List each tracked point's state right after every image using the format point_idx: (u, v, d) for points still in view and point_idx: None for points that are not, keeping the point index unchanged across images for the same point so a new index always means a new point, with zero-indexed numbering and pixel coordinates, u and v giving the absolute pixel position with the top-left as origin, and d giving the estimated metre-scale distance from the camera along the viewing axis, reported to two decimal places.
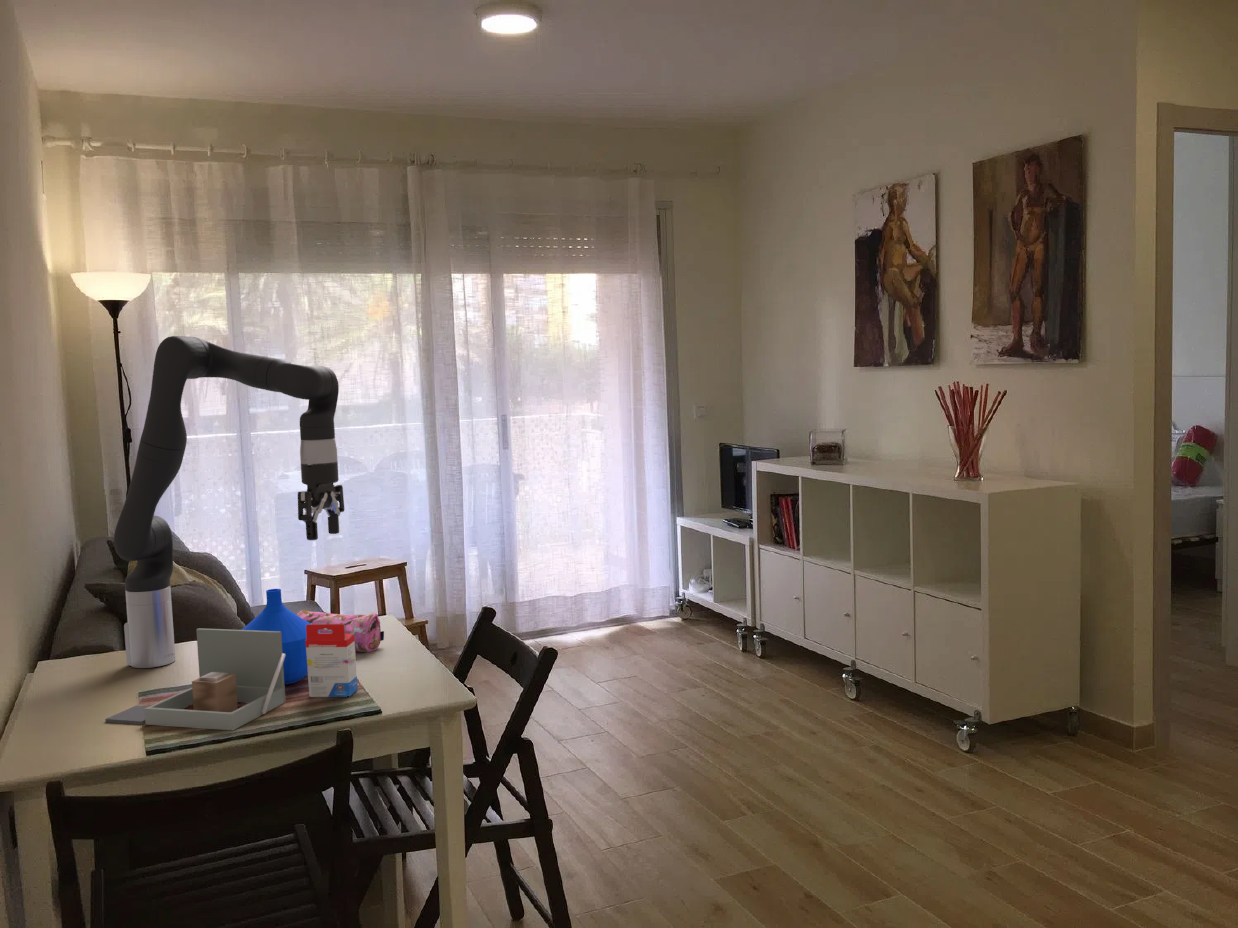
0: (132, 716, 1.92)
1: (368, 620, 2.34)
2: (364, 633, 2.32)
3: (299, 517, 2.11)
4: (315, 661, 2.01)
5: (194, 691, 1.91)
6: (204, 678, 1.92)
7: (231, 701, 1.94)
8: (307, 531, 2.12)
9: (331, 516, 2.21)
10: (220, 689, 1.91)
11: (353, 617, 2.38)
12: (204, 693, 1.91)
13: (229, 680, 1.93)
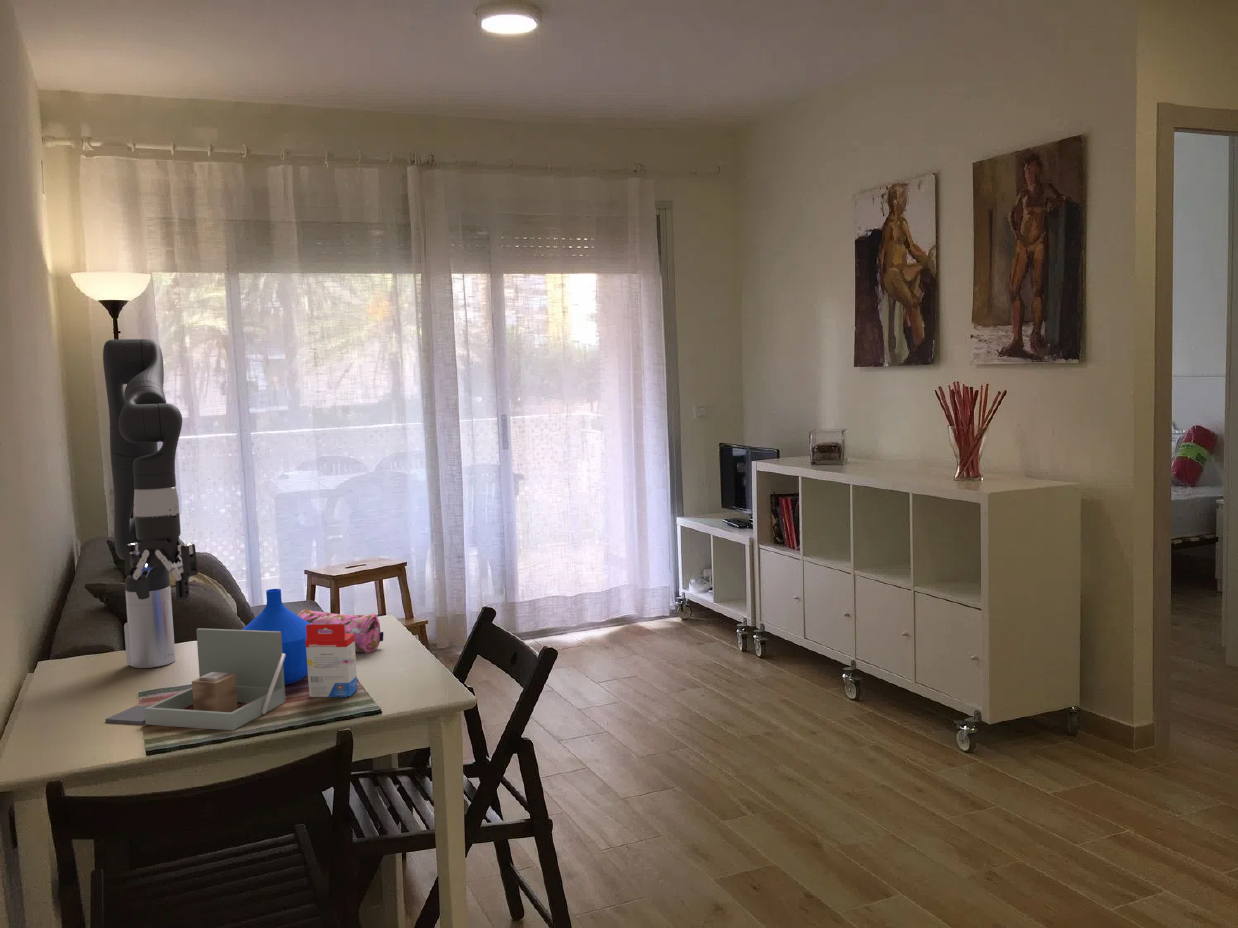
0: (132, 716, 1.92)
1: (367, 621, 2.33)
2: (362, 633, 2.32)
3: (189, 573, 1.86)
4: (315, 661, 2.01)
5: (194, 691, 1.91)
6: (204, 678, 1.92)
7: (231, 701, 1.94)
8: (184, 589, 1.88)
9: (142, 578, 1.90)
10: (220, 689, 1.91)
11: (353, 617, 2.38)
12: (204, 693, 1.91)
13: (229, 680, 1.93)
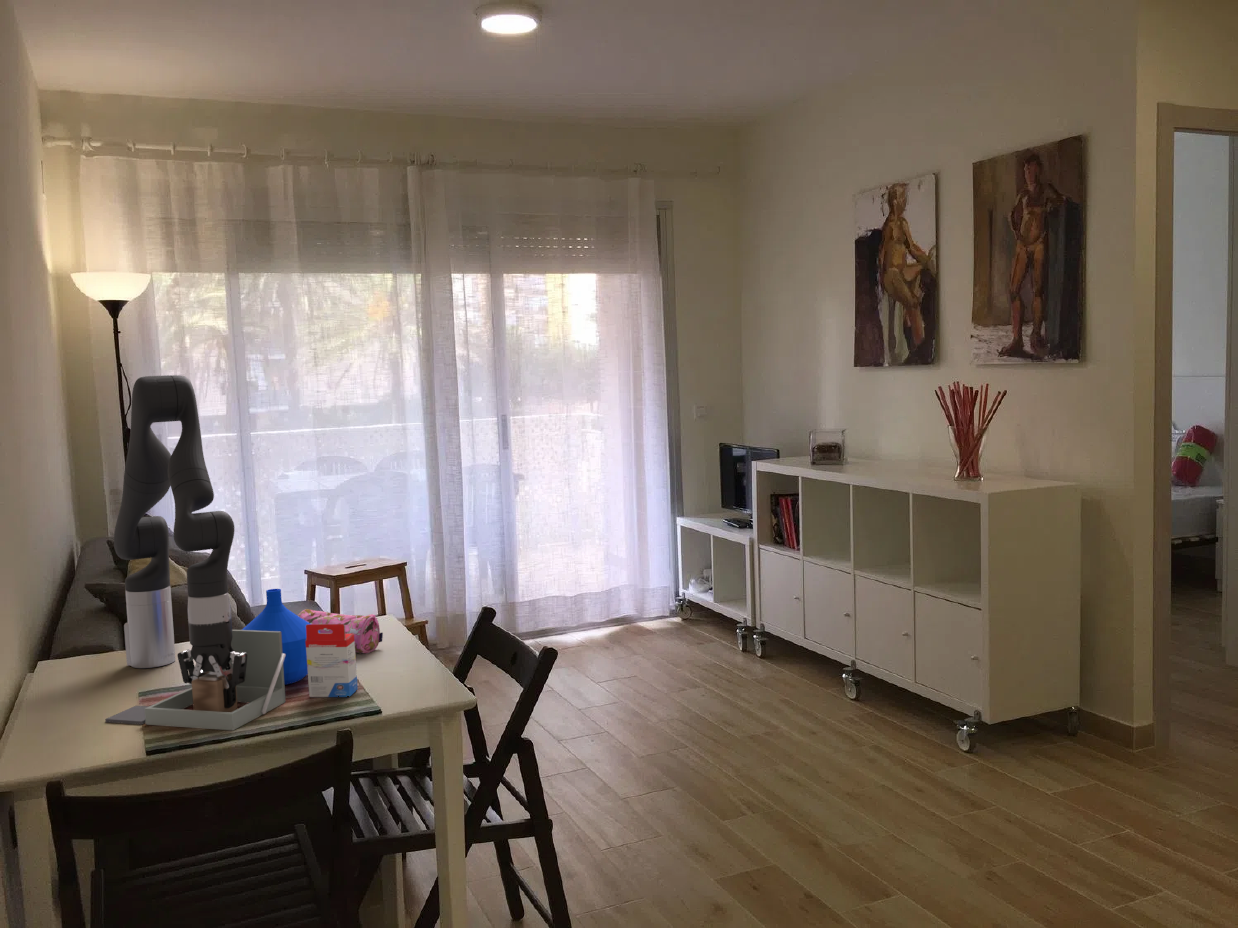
0: (132, 716, 1.92)
1: (364, 621, 2.33)
2: (359, 634, 2.31)
3: (237, 682, 1.91)
4: (315, 661, 2.01)
5: (194, 691, 1.91)
6: (204, 678, 1.92)
7: None
8: (232, 697, 1.92)
9: None
10: (219, 688, 1.91)
11: (352, 618, 2.37)
12: (204, 692, 1.91)
13: None
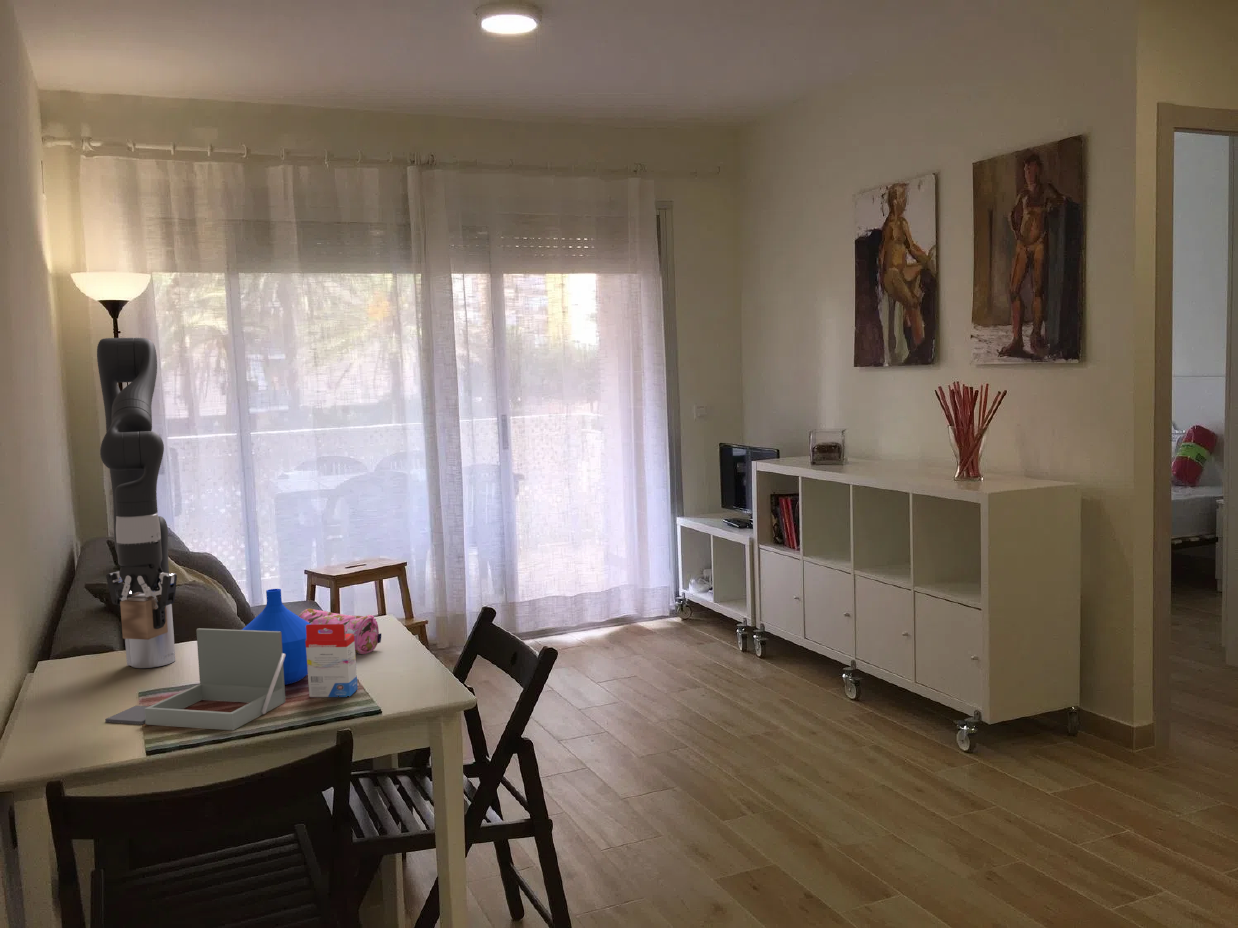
0: (132, 716, 1.92)
1: (361, 622, 2.32)
2: (356, 634, 2.31)
3: (166, 603, 1.90)
4: (315, 661, 2.01)
5: (122, 611, 1.90)
6: (133, 598, 1.91)
7: None
8: (161, 618, 1.91)
9: None
10: (148, 609, 1.90)
11: (351, 618, 2.37)
12: (132, 613, 1.90)
13: (158, 601, 1.92)
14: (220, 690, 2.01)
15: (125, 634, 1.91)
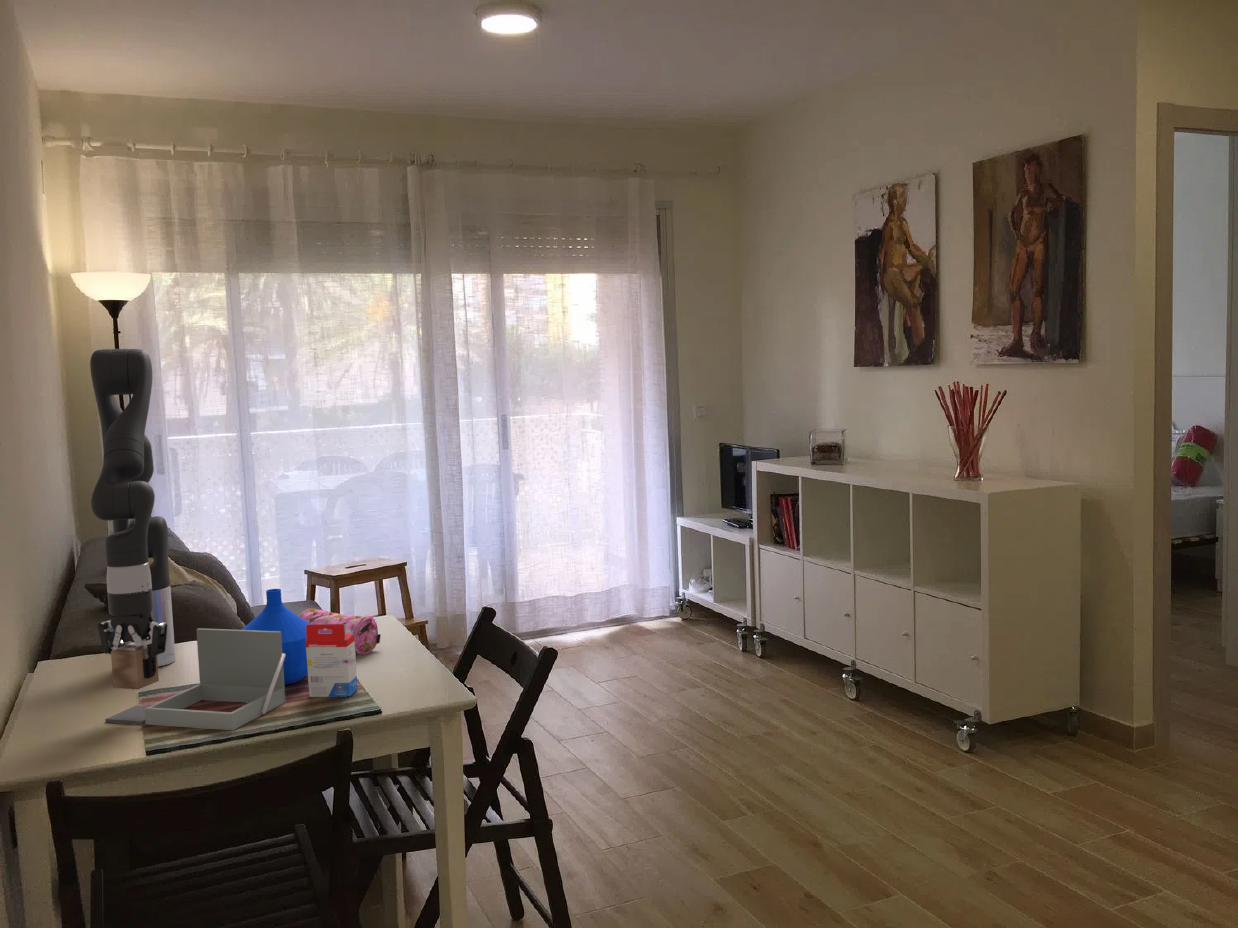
0: (132, 716, 1.92)
1: (359, 622, 2.32)
2: None
3: (156, 653, 1.90)
4: (315, 661, 2.01)
5: (113, 661, 1.91)
6: (123, 648, 1.91)
7: None
8: (152, 667, 1.91)
9: None
10: (138, 658, 1.90)
11: (350, 618, 2.37)
12: (123, 662, 1.90)
13: None
14: (220, 690, 2.01)
15: (116, 684, 1.91)
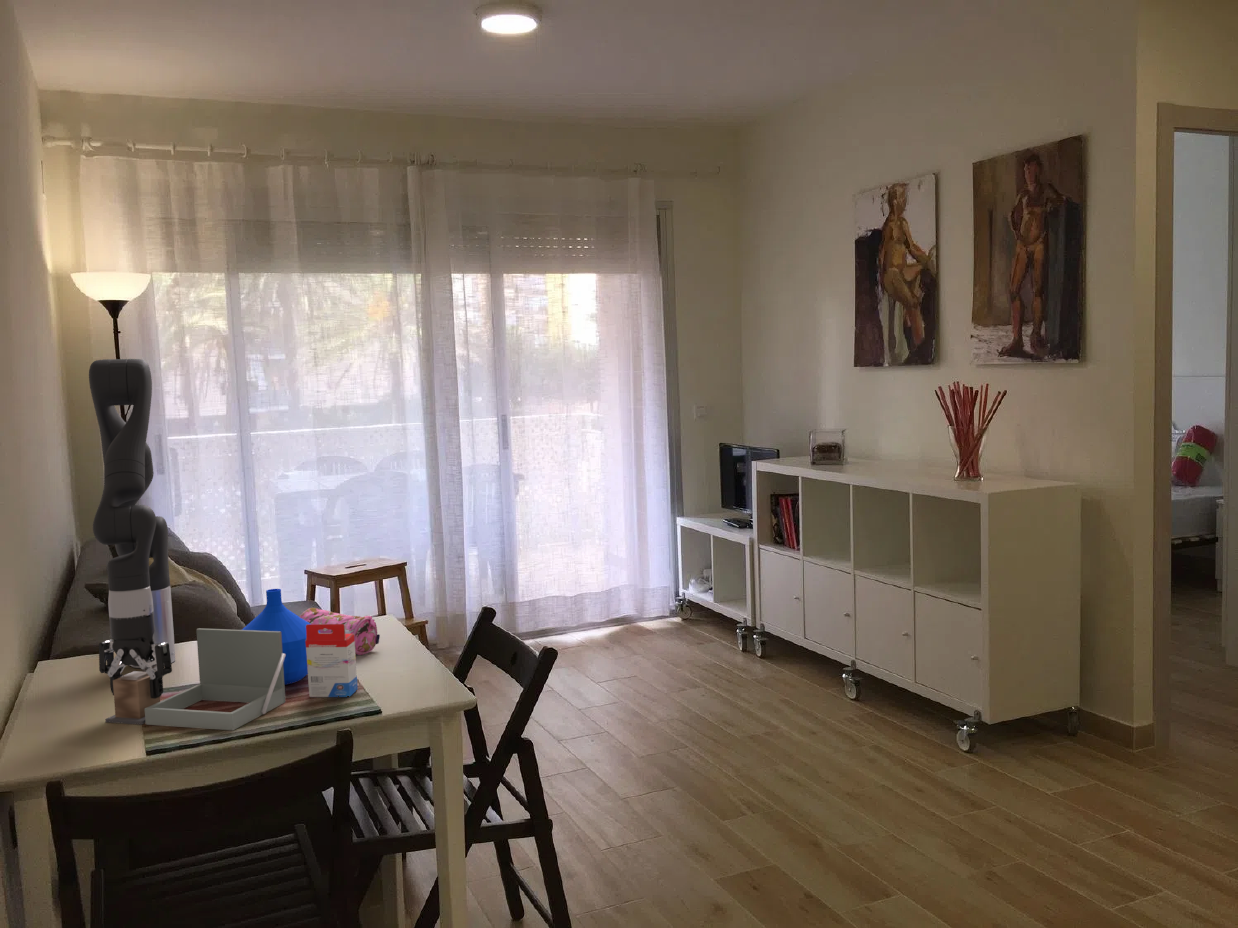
0: None
1: (358, 623, 2.32)
2: None
3: (163, 672, 1.90)
4: (315, 661, 2.01)
5: (115, 690, 1.91)
6: (125, 677, 1.91)
7: (153, 700, 1.94)
8: (159, 688, 1.91)
9: (117, 675, 1.94)
10: (140, 688, 1.90)
11: (350, 618, 2.37)
12: (125, 692, 1.91)
13: None
14: (220, 690, 2.01)
15: (118, 713, 1.91)
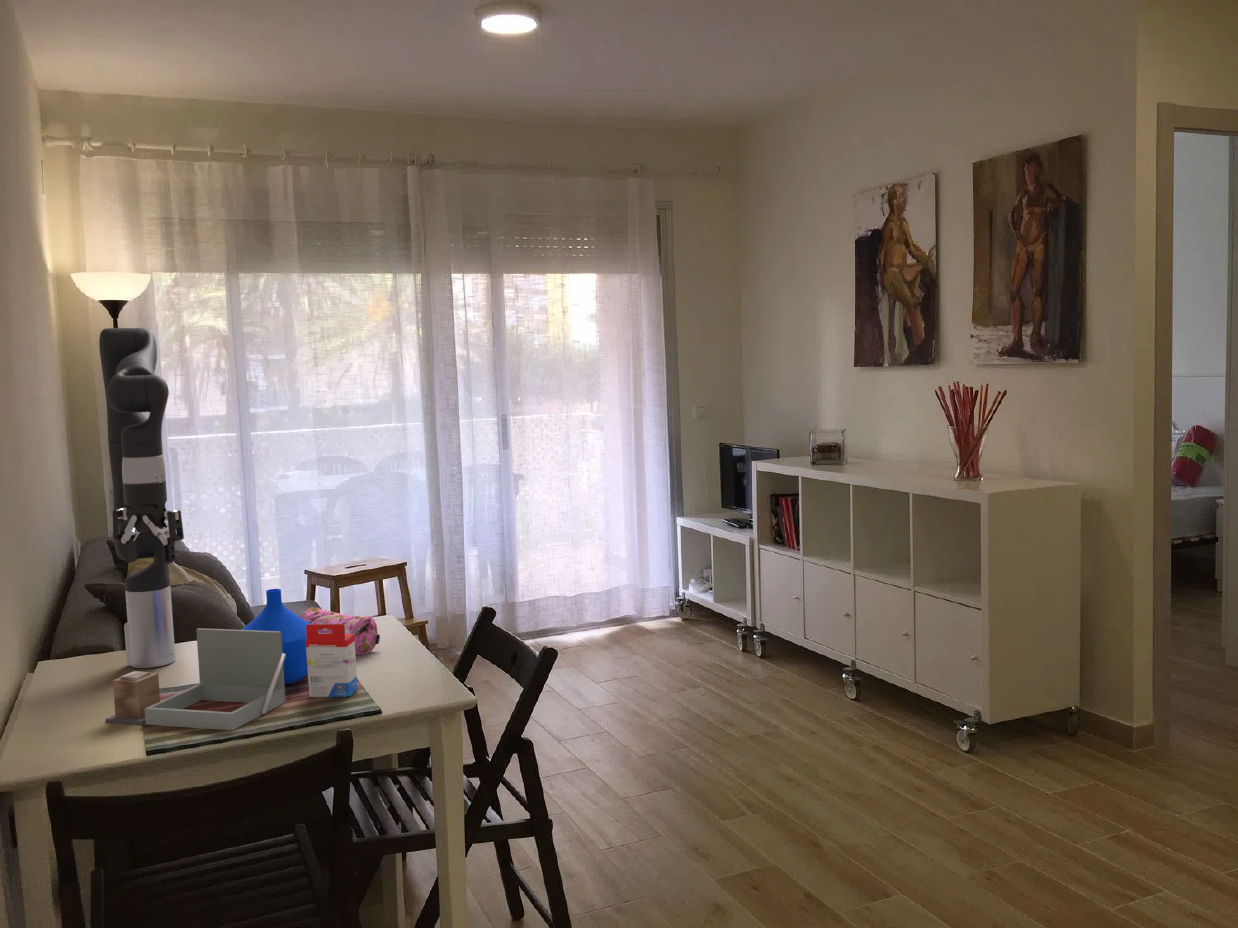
0: None
1: (358, 623, 2.32)
2: None
3: (175, 538, 1.95)
4: (315, 661, 2.01)
5: (115, 690, 1.91)
6: (125, 677, 1.91)
7: (153, 700, 1.94)
8: (171, 553, 1.96)
9: (130, 542, 1.99)
10: (140, 688, 1.90)
11: (350, 618, 2.37)
12: (125, 692, 1.91)
13: (151, 679, 1.93)
14: (220, 690, 2.01)
15: (118, 713, 1.91)
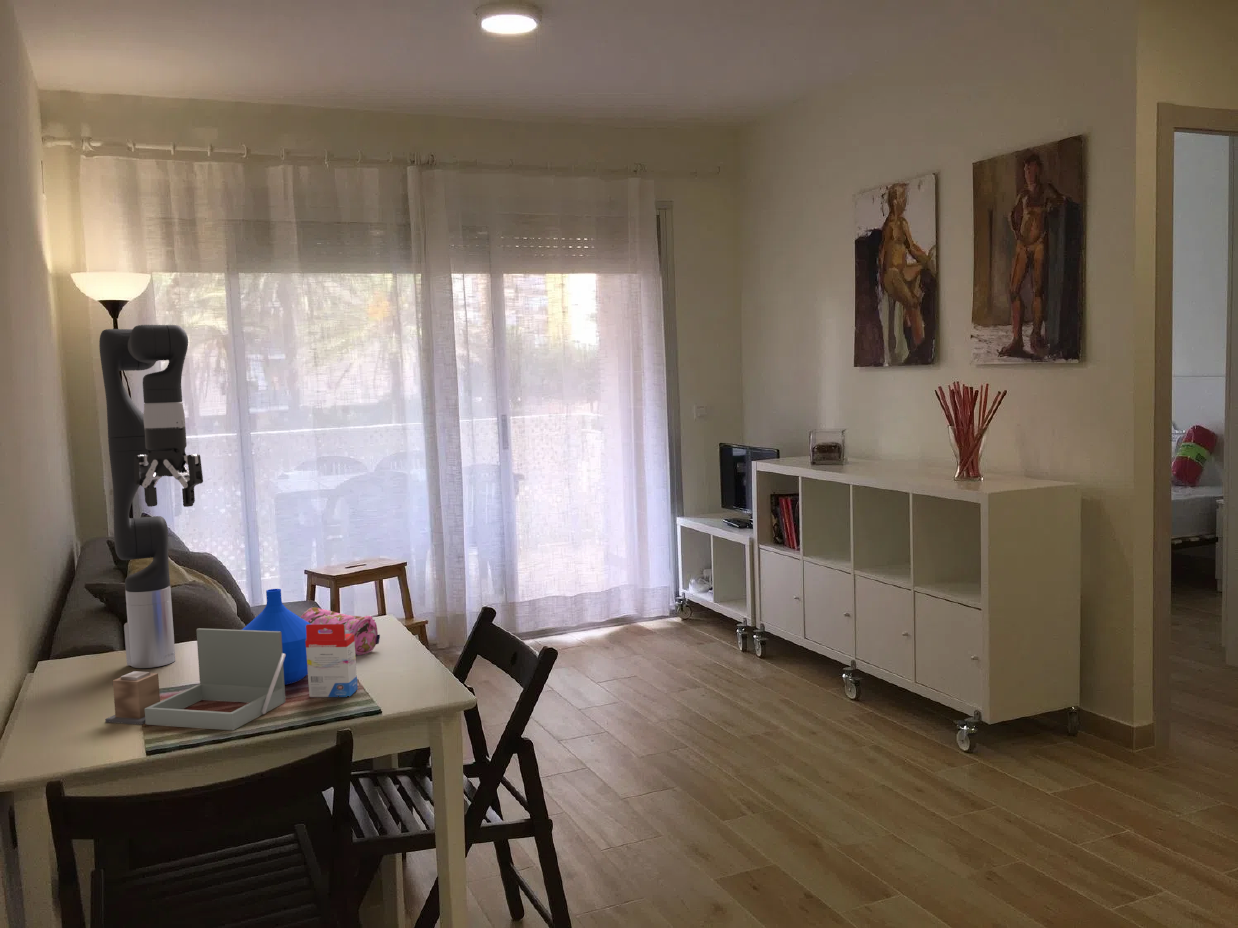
0: None
1: (357, 623, 2.32)
2: None
3: (195, 481, 2.02)
4: (315, 661, 2.01)
5: (115, 690, 1.91)
6: (125, 677, 1.91)
7: (153, 700, 1.94)
8: (191, 496, 2.03)
9: (151, 487, 2.06)
10: (140, 688, 1.90)
11: (350, 618, 2.37)
12: (125, 692, 1.91)
13: (151, 679, 1.93)
14: (220, 690, 2.01)
15: (118, 713, 1.91)
